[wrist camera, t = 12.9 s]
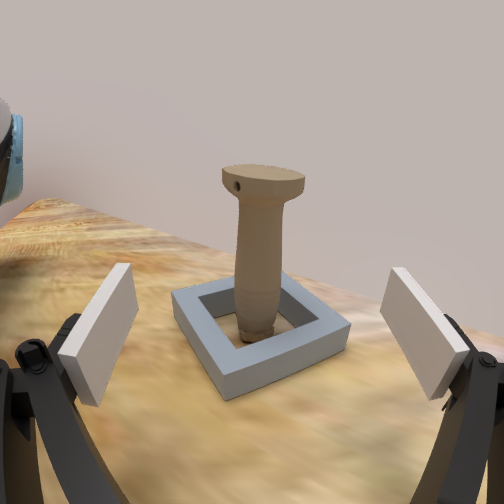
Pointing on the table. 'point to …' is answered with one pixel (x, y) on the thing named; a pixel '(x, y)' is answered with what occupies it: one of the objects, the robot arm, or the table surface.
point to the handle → (259, 242)
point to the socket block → (263, 352)
